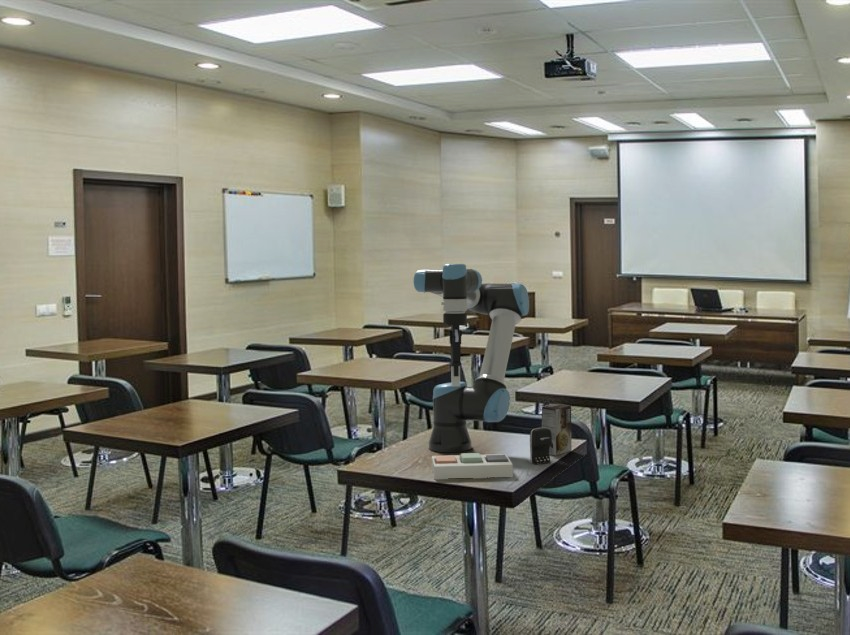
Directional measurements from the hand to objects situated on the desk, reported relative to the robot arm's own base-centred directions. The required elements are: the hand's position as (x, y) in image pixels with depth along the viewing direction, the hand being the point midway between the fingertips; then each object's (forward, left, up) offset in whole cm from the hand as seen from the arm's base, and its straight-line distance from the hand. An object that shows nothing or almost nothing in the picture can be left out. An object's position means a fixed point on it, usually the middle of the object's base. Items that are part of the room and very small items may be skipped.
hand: (455, 386), depth 271 cm
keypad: (+7, +4, -26) cm, 28 cm away
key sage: (+7, +4, -24) cm, 25 cm away
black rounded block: (-3, +28, -27) cm, 39 cm away
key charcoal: (+7, +12, -25) cm, 28 cm away
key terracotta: (+7, -4, -25) cm, 26 cm away
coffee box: (-18, +36, -27) cm, 48 cm away
